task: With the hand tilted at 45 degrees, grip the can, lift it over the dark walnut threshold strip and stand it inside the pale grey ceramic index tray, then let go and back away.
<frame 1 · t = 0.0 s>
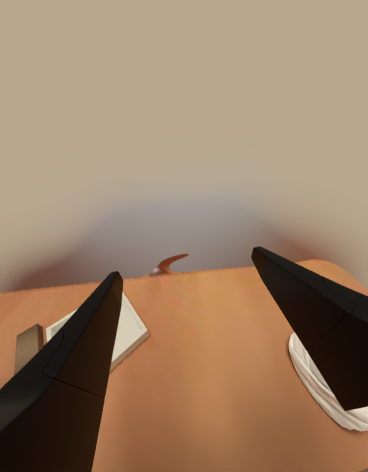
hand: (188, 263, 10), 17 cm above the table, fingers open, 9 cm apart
index tray: (99, 334, 22), on the table
threshold strip: (33, 385, 18), on the table
whipped cream: (323, 372, 17), on the table
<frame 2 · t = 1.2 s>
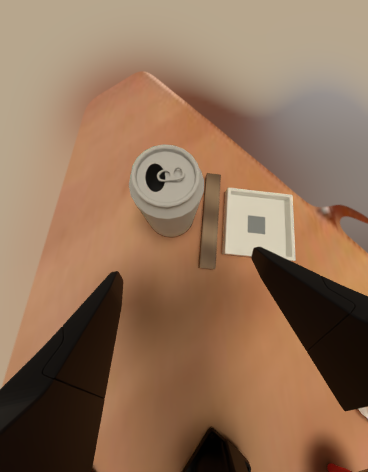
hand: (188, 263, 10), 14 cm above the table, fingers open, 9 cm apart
index tray: (255, 225, 25), on the table
threshold strip: (209, 220, 25), on the table
strawberry: (327, 465, 19), on the table
can: (171, 216, 25), on the table
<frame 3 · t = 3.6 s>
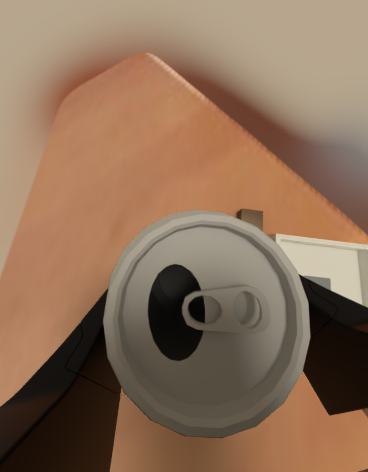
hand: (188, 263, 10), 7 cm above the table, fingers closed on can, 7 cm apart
index tray: (314, 290, 16), on the table
threshold strip: (244, 282, 16), on the table
can: (186, 275, 16), on the table, touching gripper
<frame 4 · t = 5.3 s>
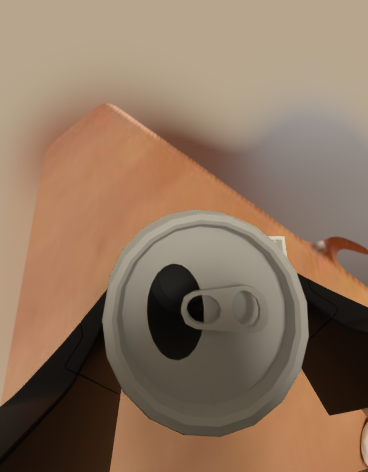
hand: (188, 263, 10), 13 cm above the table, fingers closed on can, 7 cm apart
can: (185, 275, 16), point 6 cm above the table, touching gripper
when the fingers open (8 cm above the table, at t = 7.5 s): can drops 1 cm, resting on index tray.
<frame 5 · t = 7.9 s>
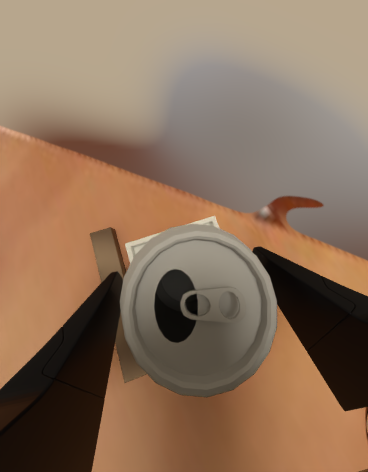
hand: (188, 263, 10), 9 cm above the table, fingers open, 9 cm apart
index tray: (185, 273, 18), on the table
threshold strip: (121, 296, 17), on the table
can: (185, 275, 18), resting on index tray
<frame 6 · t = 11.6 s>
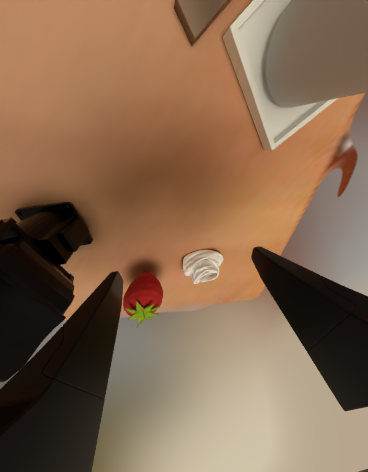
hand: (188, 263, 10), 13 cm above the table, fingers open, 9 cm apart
index tray: (296, 57, 14), on the table
whipped cream: (201, 260, 29), on the table
strawberry: (145, 271, 28), on the table
can: (296, 58, 14), resting on index tray
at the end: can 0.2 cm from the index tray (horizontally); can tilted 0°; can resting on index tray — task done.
